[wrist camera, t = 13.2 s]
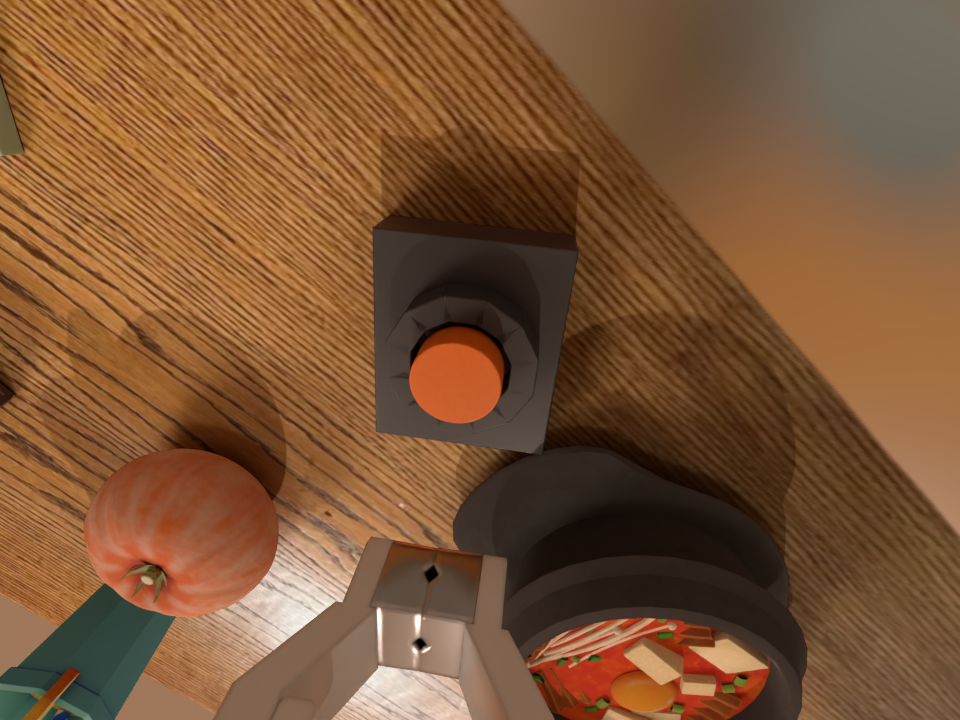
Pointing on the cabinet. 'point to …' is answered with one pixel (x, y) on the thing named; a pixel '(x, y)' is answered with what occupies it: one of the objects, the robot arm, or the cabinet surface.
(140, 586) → the tomato
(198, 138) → the cabinet surface
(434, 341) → the button
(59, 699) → the cup
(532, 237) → the button housing
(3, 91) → the lever stand
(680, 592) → the casserole
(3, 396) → the box
